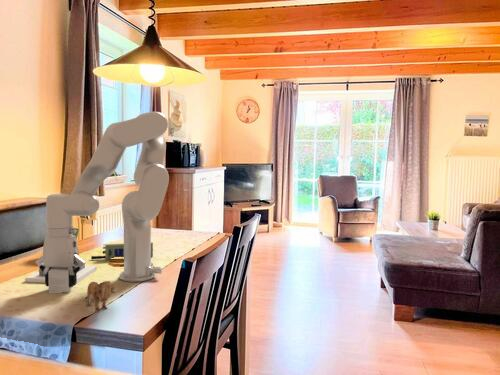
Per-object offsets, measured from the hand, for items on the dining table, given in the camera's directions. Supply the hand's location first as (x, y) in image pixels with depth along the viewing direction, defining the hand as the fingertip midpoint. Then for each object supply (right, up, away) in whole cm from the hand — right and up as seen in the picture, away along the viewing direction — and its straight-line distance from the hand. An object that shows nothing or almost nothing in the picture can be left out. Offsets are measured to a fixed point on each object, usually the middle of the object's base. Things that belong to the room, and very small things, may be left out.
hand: (61, 285), depth 126 cm
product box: (0, -2, 0) cm, 2 cm away
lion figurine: (+17, -3, -13) cm, 22 cm away
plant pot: (-18, +2, +41) cm, 45 cm away
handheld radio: (+7, +1, +39) cm, 39 cm away
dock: (-6, 0, +14) cm, 16 cm away
